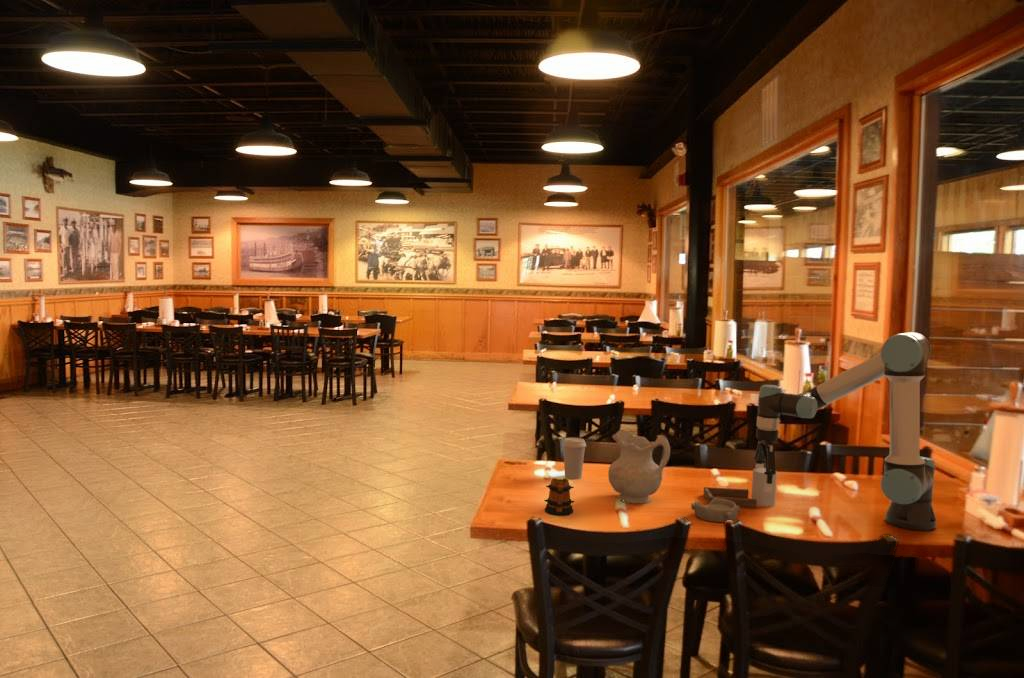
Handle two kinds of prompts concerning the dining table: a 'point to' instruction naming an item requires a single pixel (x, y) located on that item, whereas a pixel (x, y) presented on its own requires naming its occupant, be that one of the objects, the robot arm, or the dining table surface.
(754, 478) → the cup
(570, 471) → the coffee cup
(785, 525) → the dining table surface
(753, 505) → the u rest
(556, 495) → the brown tiered piece
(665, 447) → the ceramic pitcher
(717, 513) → the dish
